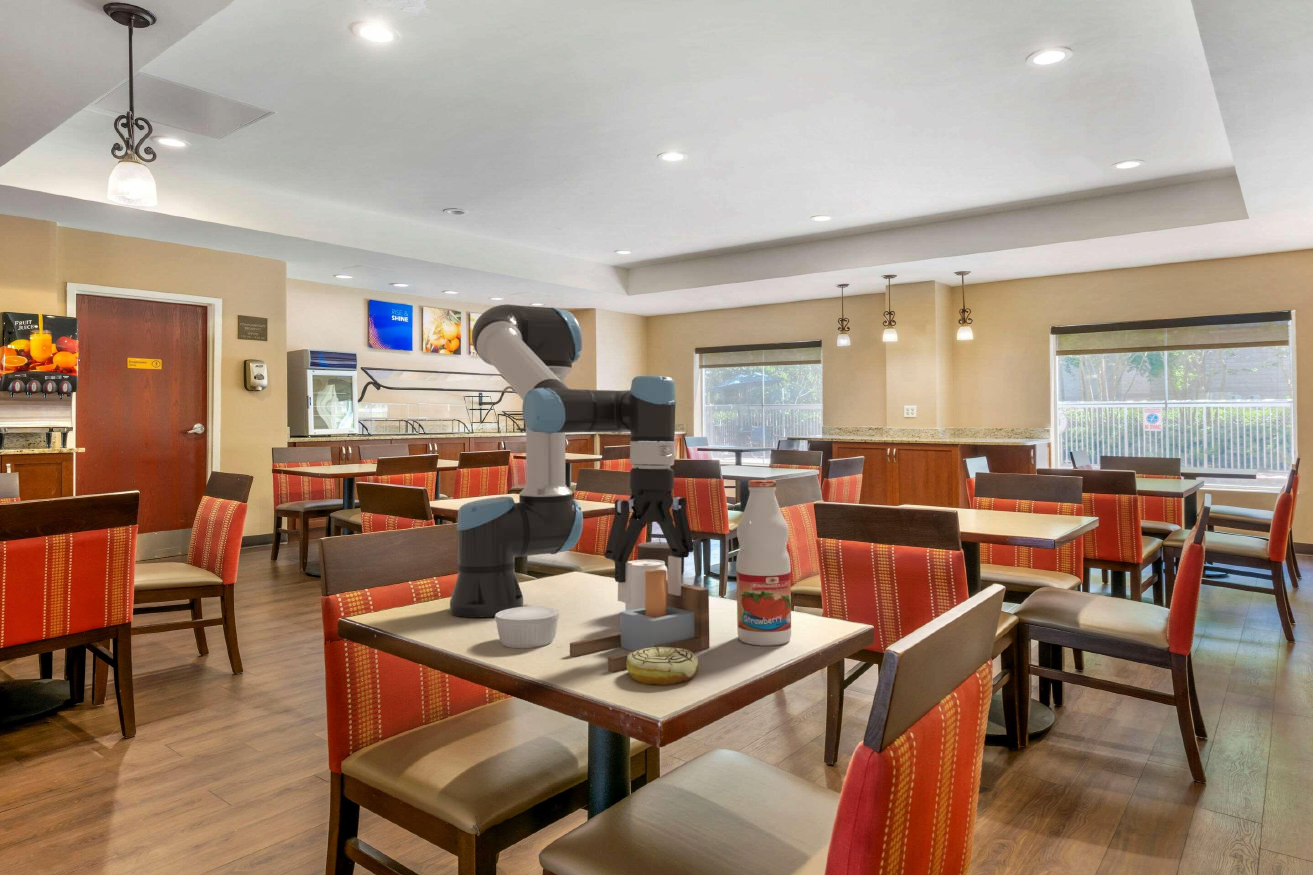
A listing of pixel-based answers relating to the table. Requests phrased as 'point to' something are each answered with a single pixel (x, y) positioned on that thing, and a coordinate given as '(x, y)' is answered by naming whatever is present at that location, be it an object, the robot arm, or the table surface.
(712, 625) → the table surface
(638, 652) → the decorated donut
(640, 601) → the beverage can
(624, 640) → the socket block
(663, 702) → the table surface
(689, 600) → the track with backstop wall
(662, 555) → the pillar candle
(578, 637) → the table surface
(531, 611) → the ramekin
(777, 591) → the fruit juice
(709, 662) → the table surface
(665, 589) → the dowel
